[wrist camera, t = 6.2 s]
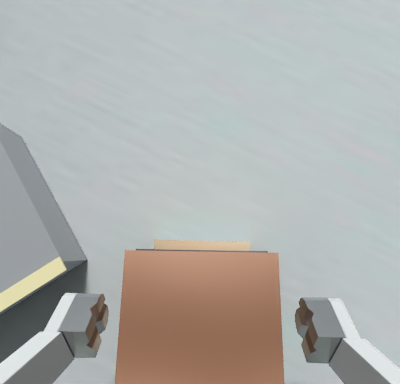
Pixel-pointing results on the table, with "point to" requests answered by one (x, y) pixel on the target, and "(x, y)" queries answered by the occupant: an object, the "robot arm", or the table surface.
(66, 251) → the grey flat block
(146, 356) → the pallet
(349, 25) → the table surface
